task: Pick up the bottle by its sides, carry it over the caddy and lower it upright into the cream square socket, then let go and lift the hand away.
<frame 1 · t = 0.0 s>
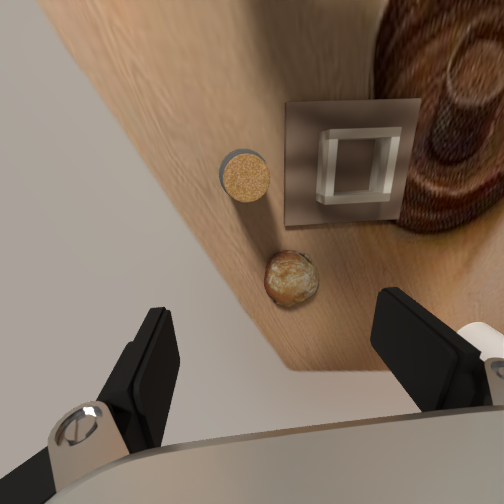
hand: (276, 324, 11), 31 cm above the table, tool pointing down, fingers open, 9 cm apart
cylinder container: (469, 338, 56), on the table
bread roll: (287, 274, 46), on the table
bottle: (240, 170, 38), on the table
caddy: (345, 166, 39), on the table
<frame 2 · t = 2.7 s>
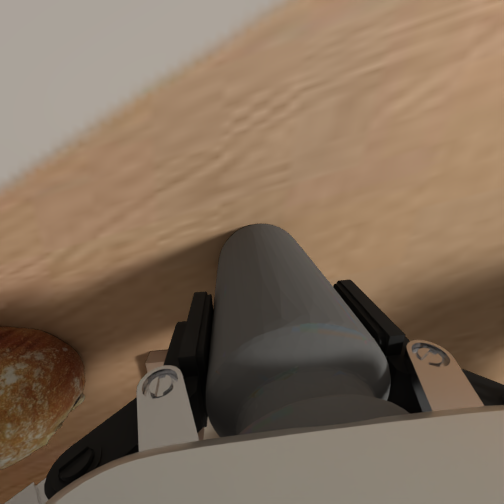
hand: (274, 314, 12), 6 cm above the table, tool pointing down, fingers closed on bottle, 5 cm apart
bread roll: (21, 369, 19), on the table
bottle: (259, 261, 17), on the table, touching gripper
caddy: (265, 422, 23), on the table
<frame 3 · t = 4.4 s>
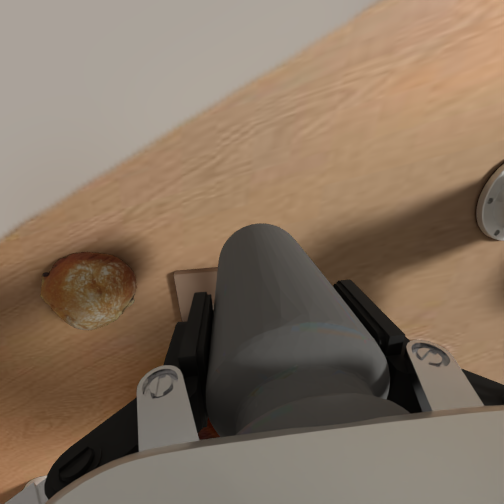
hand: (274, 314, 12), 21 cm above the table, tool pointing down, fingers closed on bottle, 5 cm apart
bread roll: (98, 282, 33), on the table
bottle: (259, 261, 17), point 15 cm above the table, touching gripper
caddy: (244, 324, 37), on the table
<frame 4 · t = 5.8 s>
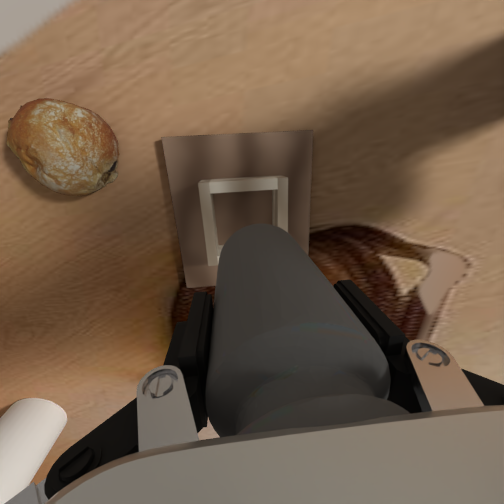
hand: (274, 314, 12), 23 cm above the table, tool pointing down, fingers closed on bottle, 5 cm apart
cylinder container: (39, 415, 43), on the table
bread roll: (76, 149, 29), on the table
bottle: (259, 261, 17), point 17 cm above the table, touching gripper
caddy: (243, 214, 33), on the table
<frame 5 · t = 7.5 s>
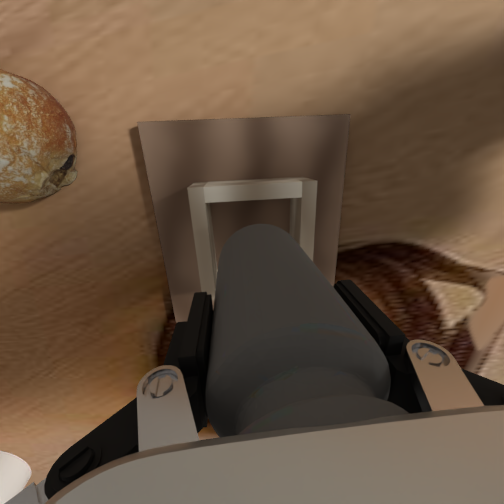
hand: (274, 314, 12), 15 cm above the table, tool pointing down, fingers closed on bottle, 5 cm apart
bread roll: (18, 139, 21), on the table
bottle: (259, 261, 17), point 8 cm above the table, touching gripper
caddy: (250, 228, 25), on the table
when the fingers open (9 cm above the table, at t = 9.1 s): bottle drops 1 cm, resting on caddy.
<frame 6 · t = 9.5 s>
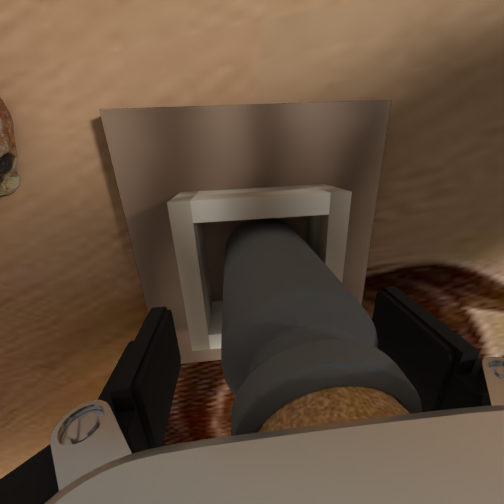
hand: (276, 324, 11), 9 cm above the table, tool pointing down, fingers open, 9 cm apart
bottle: (262, 252, 19), point 1 cm above the table, touching caddy
caddy: (255, 249, 20), on the table
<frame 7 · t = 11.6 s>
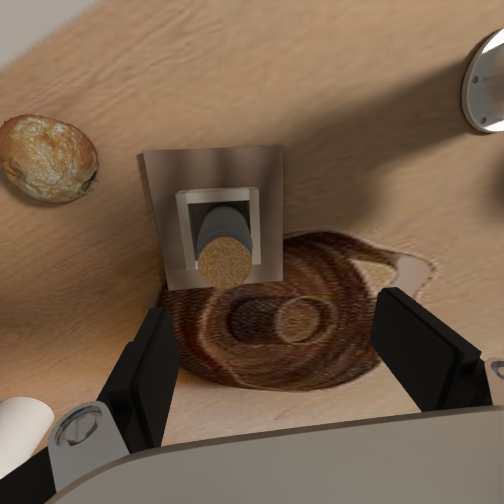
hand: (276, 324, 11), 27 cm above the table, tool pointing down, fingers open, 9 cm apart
cylinder container: (26, 414, 45), on the table
bread roll: (58, 160, 31), on the table
bottle: (224, 222, 35), point 1 cm above the table, touching caddy
caddy: (221, 221, 36), on the table
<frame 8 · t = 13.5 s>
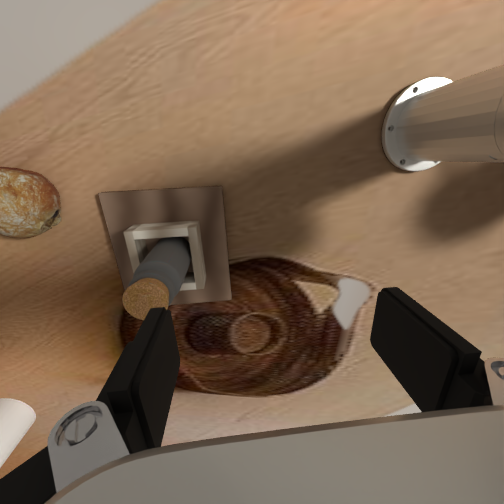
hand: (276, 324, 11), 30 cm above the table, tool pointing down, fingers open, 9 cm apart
cylinder container: (11, 413, 51), on the table
bread roll: (27, 200, 36), on the table
bottle: (175, 251, 40), point 1 cm above the table, touching caddy
caddy: (173, 249, 41), on the table
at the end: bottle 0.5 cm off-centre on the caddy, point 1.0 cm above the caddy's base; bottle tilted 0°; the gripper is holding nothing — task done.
